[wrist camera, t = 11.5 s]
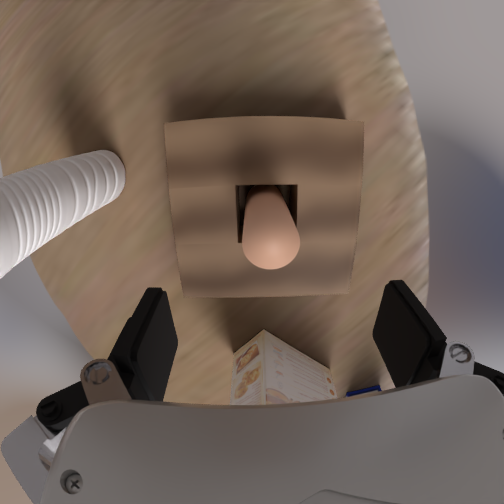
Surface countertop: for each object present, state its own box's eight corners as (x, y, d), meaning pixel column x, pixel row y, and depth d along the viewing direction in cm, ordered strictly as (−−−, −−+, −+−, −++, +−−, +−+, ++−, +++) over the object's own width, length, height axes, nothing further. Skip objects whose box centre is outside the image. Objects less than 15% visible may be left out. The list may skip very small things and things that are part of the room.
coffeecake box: (231, 353, 39) (222, 473, 22) (263, 326, 37) (268, 457, 19) (300, 390, 43) (313, 489, 26) (331, 368, 41) (357, 473, 23)
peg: (245, 183, 29) (240, 216, 18) (283, 183, 29) (301, 215, 18) (246, 218, 31) (243, 270, 20) (282, 218, 31) (298, 268, 20)
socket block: (178, 124, 26) (163, 123, 22) (346, 122, 26) (363, 121, 22) (192, 275, 34) (183, 297, 29) (337, 272, 34) (348, 293, 29)
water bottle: (117, 141, 27) (-86, 202, 4) (133, 192, 29) (-38, 325, 7) (65, 167, 28) (-100, 246, 5) (80, 213, 30) (-66, 329, 8)
